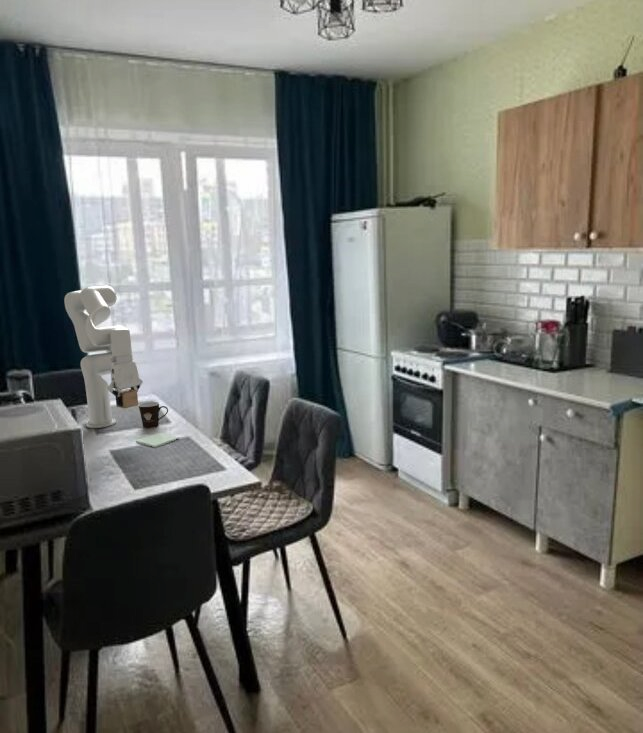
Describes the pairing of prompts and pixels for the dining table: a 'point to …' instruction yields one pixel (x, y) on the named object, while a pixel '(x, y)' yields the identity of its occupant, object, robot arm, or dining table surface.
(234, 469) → the dining table surface
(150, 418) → the coffee mug
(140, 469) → the dining table surface
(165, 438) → the green tile
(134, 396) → the walnut cube
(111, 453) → the dining table surface
